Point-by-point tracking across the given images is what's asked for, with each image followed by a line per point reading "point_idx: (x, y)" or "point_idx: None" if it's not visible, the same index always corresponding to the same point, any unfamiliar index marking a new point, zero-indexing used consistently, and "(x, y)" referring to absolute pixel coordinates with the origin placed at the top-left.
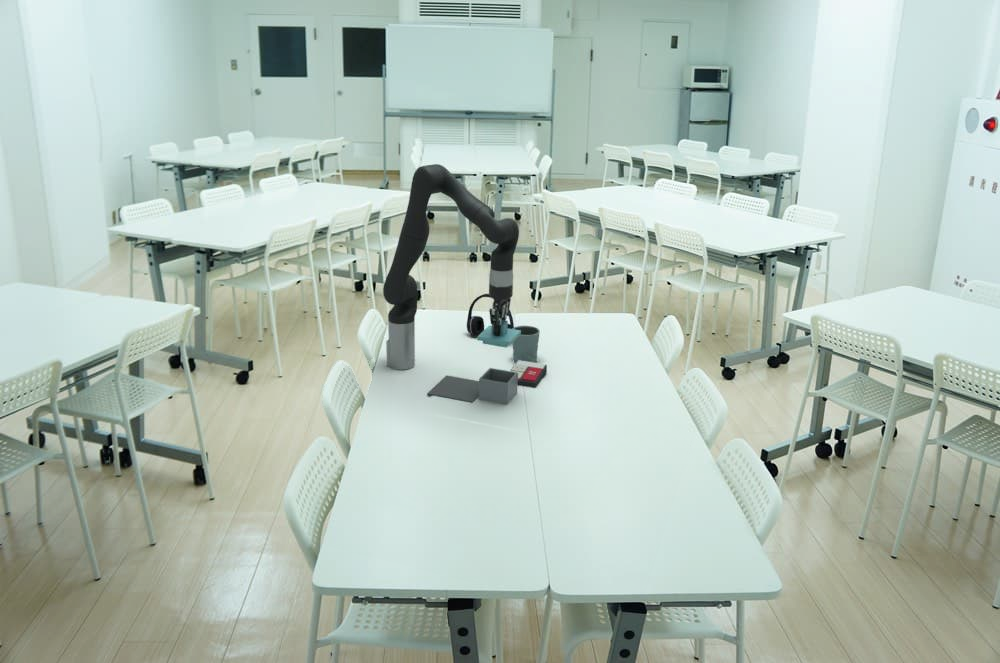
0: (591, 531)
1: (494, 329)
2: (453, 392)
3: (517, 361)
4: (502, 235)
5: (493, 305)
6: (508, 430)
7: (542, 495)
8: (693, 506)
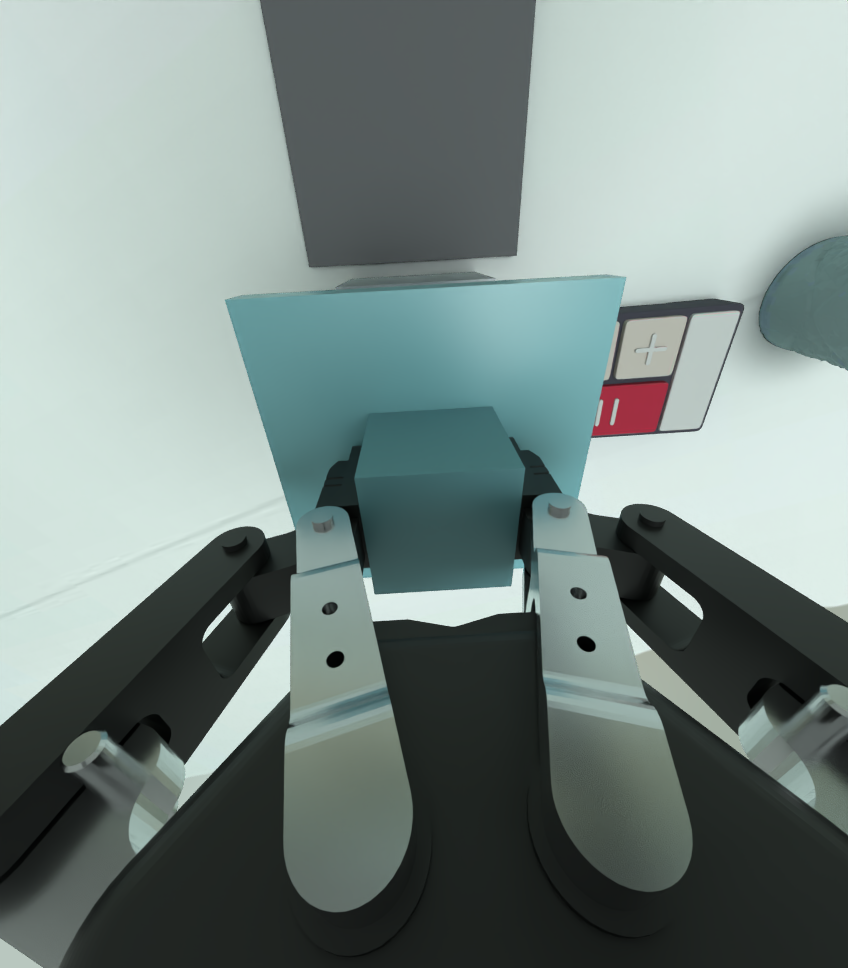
0: (29, 682)
1: (323, 495)
2: (343, 115)
3: (731, 308)
4: None
5: (61, 961)
6: (225, 461)
7: (39, 610)
8: (216, 739)
